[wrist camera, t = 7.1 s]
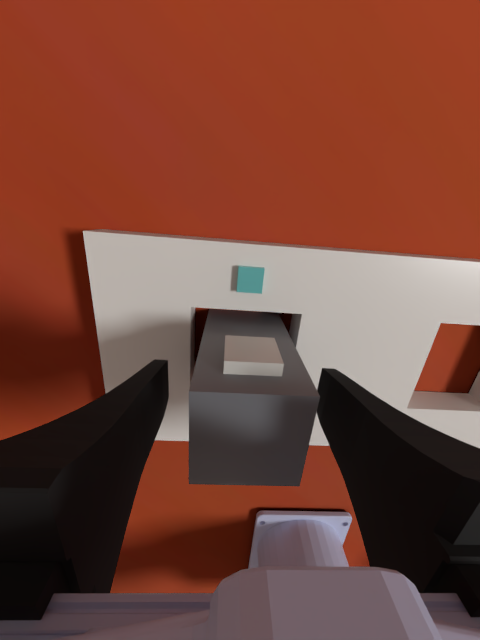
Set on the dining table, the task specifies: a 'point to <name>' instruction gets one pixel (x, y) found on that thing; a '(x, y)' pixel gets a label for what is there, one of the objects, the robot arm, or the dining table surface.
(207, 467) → the plug
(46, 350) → the dining table surface
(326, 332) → the panel
